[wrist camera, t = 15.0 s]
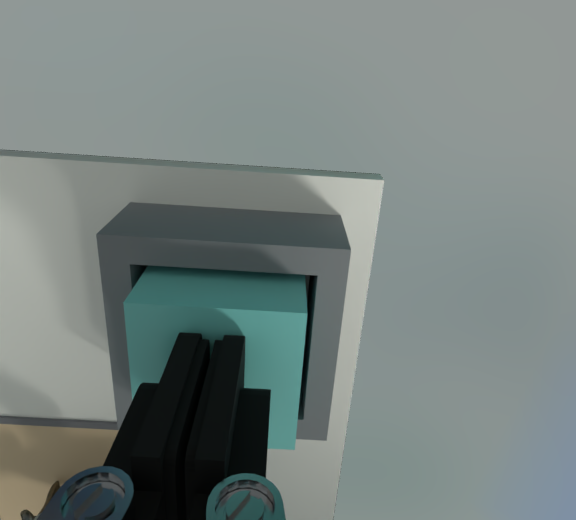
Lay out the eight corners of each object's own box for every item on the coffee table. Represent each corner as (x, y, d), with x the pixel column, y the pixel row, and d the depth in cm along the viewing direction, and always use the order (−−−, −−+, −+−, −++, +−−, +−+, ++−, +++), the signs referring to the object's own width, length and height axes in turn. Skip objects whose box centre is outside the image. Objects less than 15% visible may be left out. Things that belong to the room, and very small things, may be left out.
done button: (303, 253, 14) (307, 313, 11) (294, 369, 16) (294, 449, 13) (161, 245, 14) (123, 302, 11) (167, 362, 16) (135, 441, 13)
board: (380, 173, 15) (404, 208, 12) (318, 597, 24) (322, 683, 21) (-127, 141, 15) (-249, 167, 11) (2, 582, 24) (-44, 668, 20)
